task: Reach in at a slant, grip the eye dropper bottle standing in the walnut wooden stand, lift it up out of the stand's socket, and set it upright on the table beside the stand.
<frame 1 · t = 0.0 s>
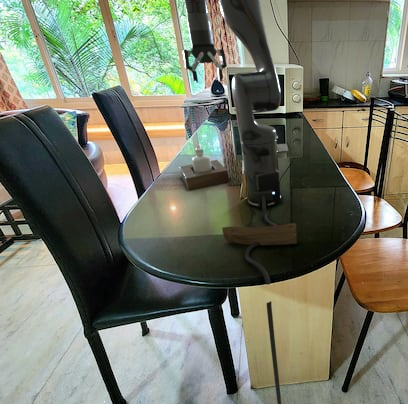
hand: (208, 81, 103), 29 cm above the table, tool pointing down, fingers open, 8 cm apart
wood plank: (261, 244, 62), on the table
stand: (205, 179, 97), on the table
platform: (267, 148, 128), on the table
eye dropper bottle: (205, 179, 97), resting in stand
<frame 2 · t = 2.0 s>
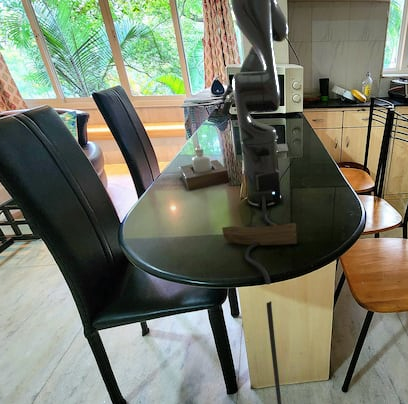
hand: (231, 117, 95), 19 cm above the table, tool tilted 35°, fingers open, 8 cm apart
nothing on the table moved.
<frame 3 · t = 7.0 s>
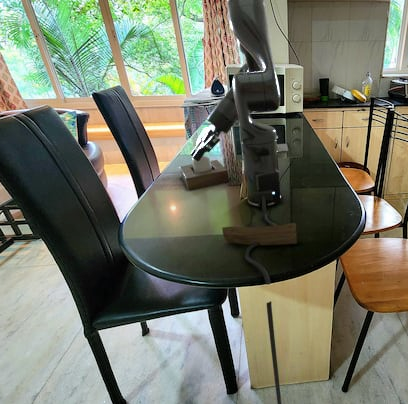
hand: (194, 157, 92), 8 cm above the table, tool tilted 45°, fingers closed on eye dropper bottle, 3 cm apart
eye dropper bottle: (205, 179, 97), resting in stand, touching gripper
everything else where it was.
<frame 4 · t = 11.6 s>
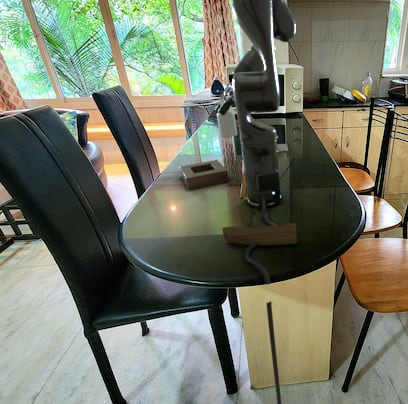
hand: (219, 112, 92), 21 cm above the table, tool tilted 45°, fingers closed on eye dropper bottle, 3 cm apart
eye dropper bottle: (229, 136, 97), point 13 cm above the table, touching gripper
everything else where it was.
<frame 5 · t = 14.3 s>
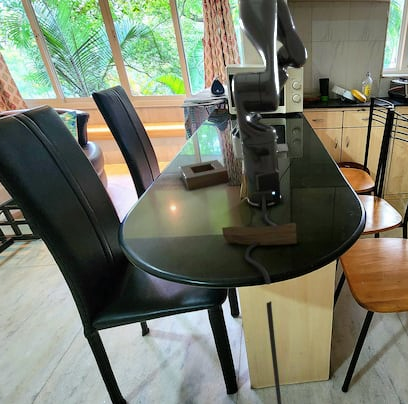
hand: (235, 135, 98), 13 cm above the table, tool tilted 45°, fingers closed on eye dropper bottle, 3 cm apart
eye dropper bottle: (243, 157, 103), point 4 cm above the table, touching gripper
everything else where it was.
when the fingers open (8 cm above the table, at t = 16.0 s): eye dropper bottle stays where it is, on the table.
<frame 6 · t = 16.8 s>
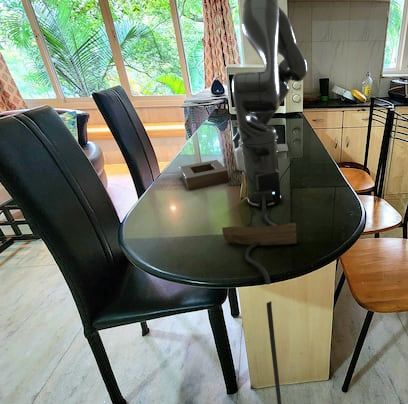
hand: (238, 144, 100), 9 cm above the table, tool tilted 45°, fingers open, 8 cm apart
eye dropper bottle: (245, 169, 105), on the table
everything else where it was.
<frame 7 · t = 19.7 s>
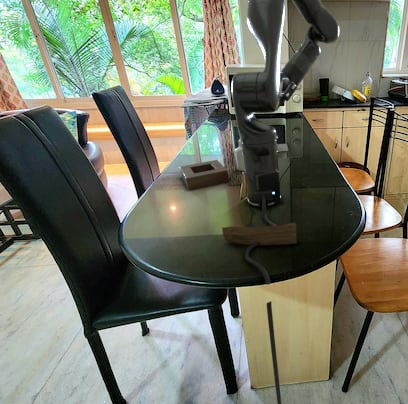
hand: (268, 107, 99), 21 cm above the table, tool tilted 45°, fingers open, 8 cm apart
nothing on the table moved.
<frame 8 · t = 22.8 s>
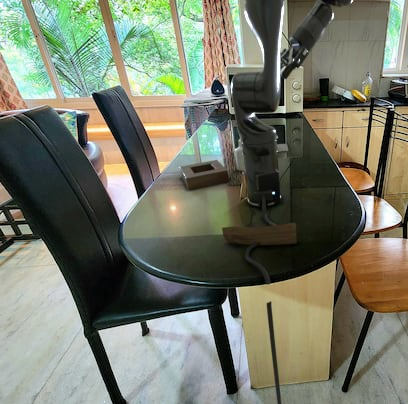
hand: (277, 76, 91), 31 cm above the table, tool tilted 45°, fingers open, 8 cm apart
nothing on the table moved.
at the end: eye dropper bottle inside the target area (0.2 cm from its centre), on the table; eye dropper bottle tilted 0°; the gripper is holding nothing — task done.
